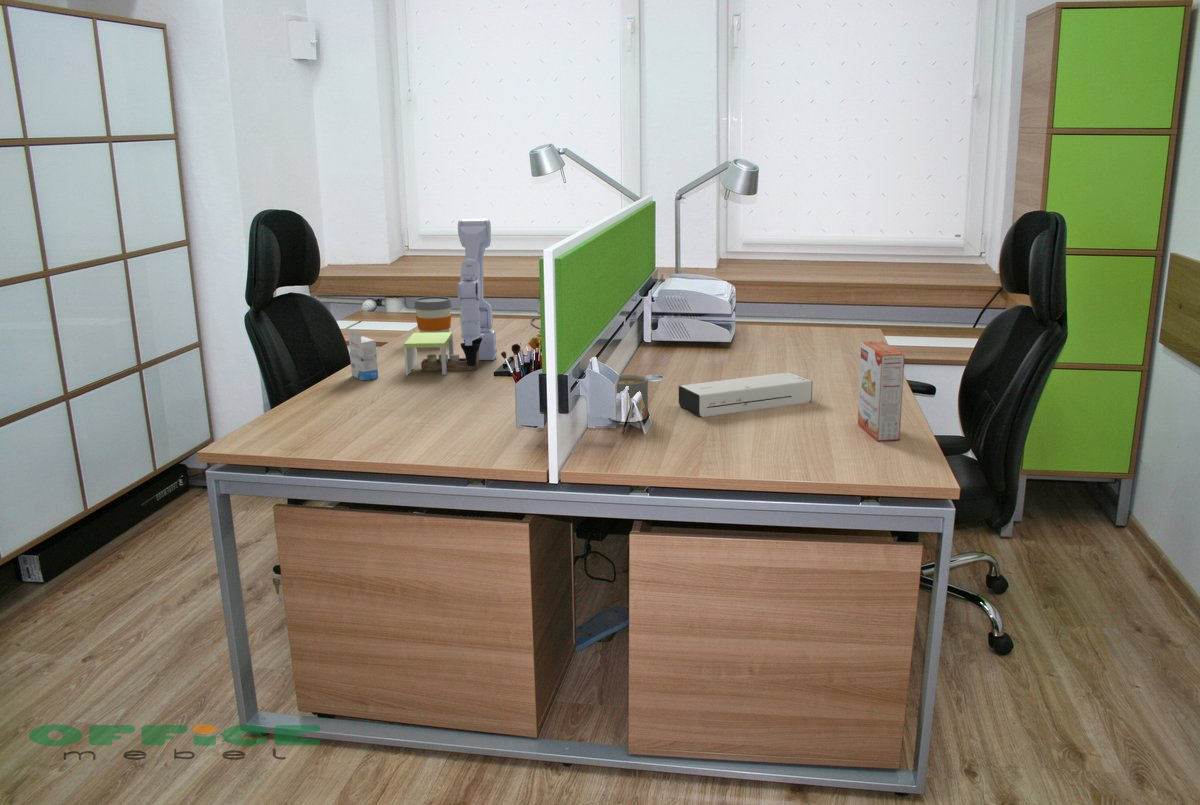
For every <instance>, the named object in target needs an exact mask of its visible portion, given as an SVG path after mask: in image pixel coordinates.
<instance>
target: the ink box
mask: <svg viewBox="0 0 1200 805" xmlns="http://www.w3.org/2000/svg"><path fill="white" fill-rule="evenodd" d="M353 334H354V335H353ZM376 341H377V340H375V339H372V338H370V337H369V338H368V337H367V336H362V333H361V331H357V330H355V329H351V328H348V344H349V354H350V366H351V367H350V368H351V369H350V370H351V377H353V376H354V377H353V378H355V377H356V379H358V378H359V379H358V380H360V379H361V380H360V381H363V380H367V381H370V380H369V379H373V380H376V379H375V378H378V379H379V371H378V370H379V369H378V356H377V345H376V344H377V343H376Z"/></svg>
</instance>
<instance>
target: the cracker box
mask: <svg viewBox="0 0 1200 805" xmlns="http://www.w3.org/2000/svg"><path fill="white" fill-rule="evenodd" d="M860 344H861V345H860V363H859V364H860V367H859V385H858V387H859V388H858V406H857V407H858V408H857V424H858V425H859V426H860V427H861V428H862V429H863V430H864V431H866V433H868V435H870V436H871V437H873V439H874V440H876V442H885V441H886V442H887V441H900V439H901V425H902V410H903V409H902V407H903V394H904V391H903V388H904V377H905V360H906V354H905V353H902V351H900V350H898V349H896V348H895V347H893V346H892V345H890V344H889V343H887V342H885V341H862V342H860Z"/></svg>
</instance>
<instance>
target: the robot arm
mask: <svg viewBox="0 0 1200 805" xmlns="http://www.w3.org/2000/svg"><path fill="white" fill-rule="evenodd" d="M491 225H492V224H491V221H490V219H489V218H469V219H468V218H467V219H465V218H464V219H463V218H460V219H459V220H458V222H457V233H458V234H457V236H458V238H459V242H460V244H461V246H462V247H463V248H464V253H465V254H464V255H465V260H463V261H462V262H461V265H460V277H459V278H460V280H459V282H458V283H457V290H456V291H457V297H458V306H459V308H460V316H459V317H460V318H459V321H460V322H459V323H460V328H461V335H460V337H461V338H462V340H463V342H461V343H460V348H461V350H462V351H463V353H464V356H465V357H464V358H466V361H467V364H468V366H475V363H476V354H477V351H479V361H494V360H495V359H496V357H497V354H498V353H497V352H498V351H497V350H498V349H497V340H496V338H497V337H496V336H497V335H496V331H495V330H491V329H492V328H493V326H494V325H493V323H494V318H493V316H494V315H493V307H492V305H491V304H490V303H489V302H487V301H486V300H485V299H484V255H485V251H486V249H487V248H489V247H490V246H491V243H492V242H491V241H492V236H491V235H492V232H491V231H492V229H491V228H492V226H491Z"/></svg>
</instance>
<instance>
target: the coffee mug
mask: <svg viewBox="0 0 1200 805" xmlns="http://www.w3.org/2000/svg"><path fill="white" fill-rule="evenodd" d="M648 379H649V378H647V377H646V376H643V375H639V374H619V381H618V383H617V393H620V392H621V391H623V390H624V389H625V387H626V386H629V390H628V393H629V396H630V398H632V397H633V396H634V395H635V394H636V393H637V392H639V391H640V392H641V394H642V397H643V401H644V404H645V406H646V409H647V411H648V410H649V406H648V405H649V403H648V402H649V400H648V395H649V392H648V391H649V390H648V387H649V386H648V385H649V384H648V383H649V382H648ZM648 412H649V411H648Z"/></svg>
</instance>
